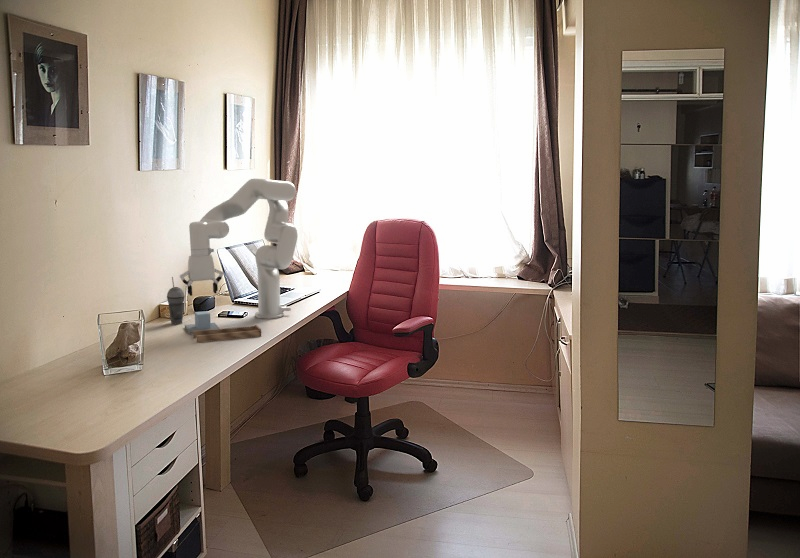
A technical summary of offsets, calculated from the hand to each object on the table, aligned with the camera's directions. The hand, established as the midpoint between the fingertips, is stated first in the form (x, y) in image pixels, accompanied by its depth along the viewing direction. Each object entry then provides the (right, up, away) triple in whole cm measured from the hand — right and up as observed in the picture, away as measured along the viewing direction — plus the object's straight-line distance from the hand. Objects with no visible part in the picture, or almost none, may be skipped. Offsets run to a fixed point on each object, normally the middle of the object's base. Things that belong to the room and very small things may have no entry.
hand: (202, 294), depth 293 cm
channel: (+12, -17, -8) cm, 22 cm away
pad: (-1, -15, +2) cm, 15 cm away
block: (0, -14, +1) cm, 14 cm away
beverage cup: (-14, -13, +12) cm, 23 cm away
